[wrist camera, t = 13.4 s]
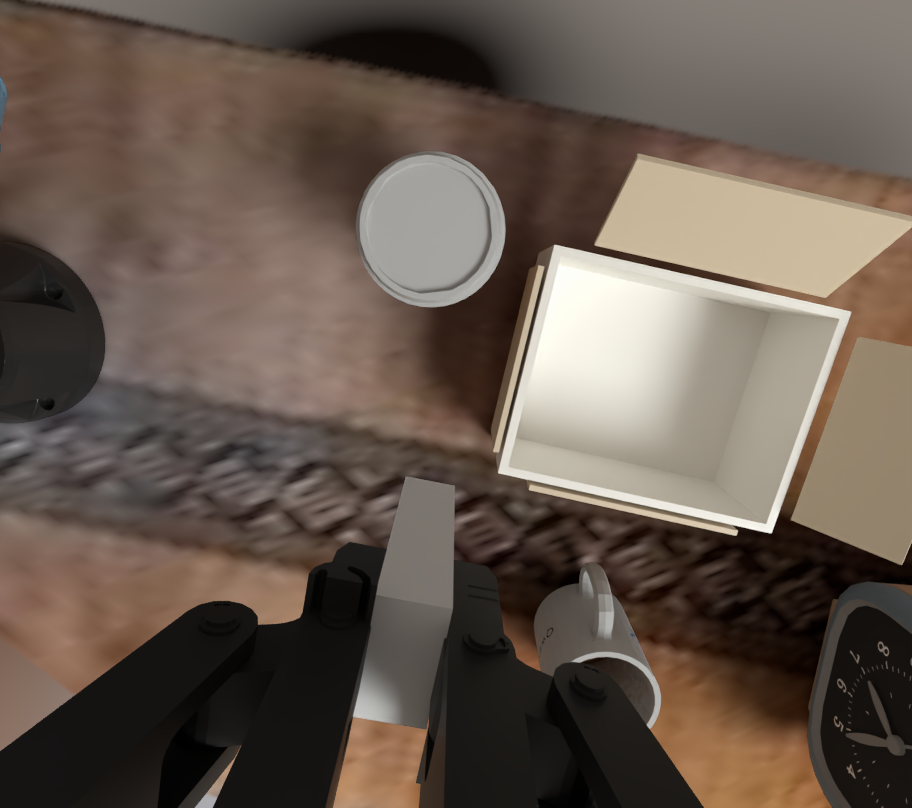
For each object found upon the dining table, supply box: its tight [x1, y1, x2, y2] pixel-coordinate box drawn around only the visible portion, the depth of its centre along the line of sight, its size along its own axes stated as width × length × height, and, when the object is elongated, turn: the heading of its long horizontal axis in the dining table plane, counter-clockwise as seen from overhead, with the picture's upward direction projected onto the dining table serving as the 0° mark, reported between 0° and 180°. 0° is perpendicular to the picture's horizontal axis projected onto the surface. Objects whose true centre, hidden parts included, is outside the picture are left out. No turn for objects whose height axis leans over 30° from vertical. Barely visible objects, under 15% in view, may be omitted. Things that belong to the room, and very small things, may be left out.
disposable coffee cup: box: [356, 151, 506, 307], centre depth 41 cm, size 10×10×12 cm
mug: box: [534, 562, 661, 729], centre depth 48 cm, size 12×9×10 cm
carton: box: [491, 245, 851, 536], centre depth 43 cm, size 21×17×10 cm
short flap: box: [791, 337, 912, 565], centre depth 36 cm, size 6×13×1 cm
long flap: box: [595, 154, 912, 298], centre depth 33 cm, size 15×7×1 cm
